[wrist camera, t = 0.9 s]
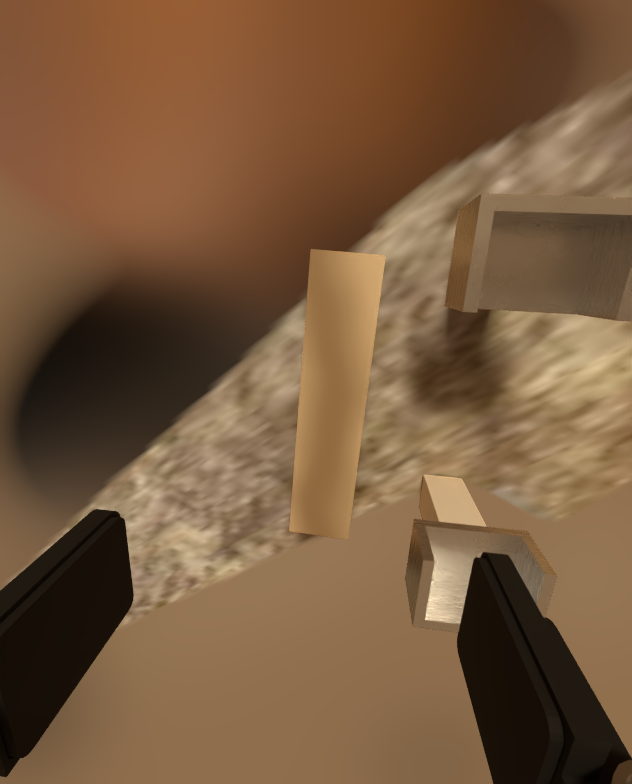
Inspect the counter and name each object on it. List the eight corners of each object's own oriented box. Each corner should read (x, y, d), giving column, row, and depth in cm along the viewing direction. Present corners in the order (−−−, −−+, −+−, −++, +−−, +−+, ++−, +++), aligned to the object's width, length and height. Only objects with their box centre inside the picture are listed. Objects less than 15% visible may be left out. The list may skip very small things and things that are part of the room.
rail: (378, 261, 26) (385, 255, 20) (350, 485, 32) (347, 539, 25) (322, 256, 27) (310, 249, 20) (303, 478, 32) (289, 531, 25)
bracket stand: (535, 233, 25) (666, 198, 14) (477, 521, 31) (537, 643, 21) (430, 229, 25) (481, 193, 15) (395, 512, 32) (412, 626, 21)
